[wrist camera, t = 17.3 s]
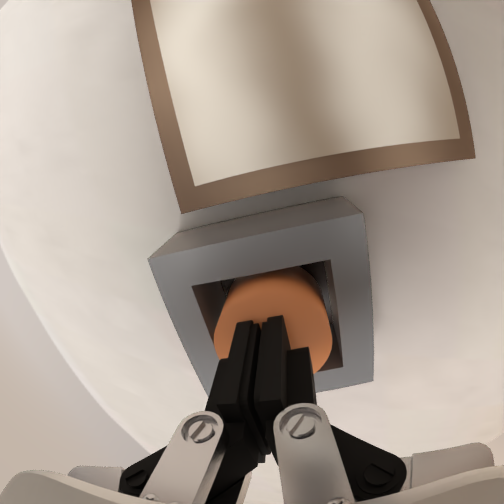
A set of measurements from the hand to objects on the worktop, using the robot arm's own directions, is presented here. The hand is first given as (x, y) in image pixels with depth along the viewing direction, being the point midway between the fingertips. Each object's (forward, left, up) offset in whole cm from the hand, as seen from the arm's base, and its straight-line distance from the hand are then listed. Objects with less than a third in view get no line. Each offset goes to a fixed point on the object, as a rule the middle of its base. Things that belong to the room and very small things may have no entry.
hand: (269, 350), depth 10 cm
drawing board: (-4, -14, -5) cm, 15 cm away
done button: (0, 0, -3) cm, 3 cm away
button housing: (0, 0, -5) cm, 5 cm away
